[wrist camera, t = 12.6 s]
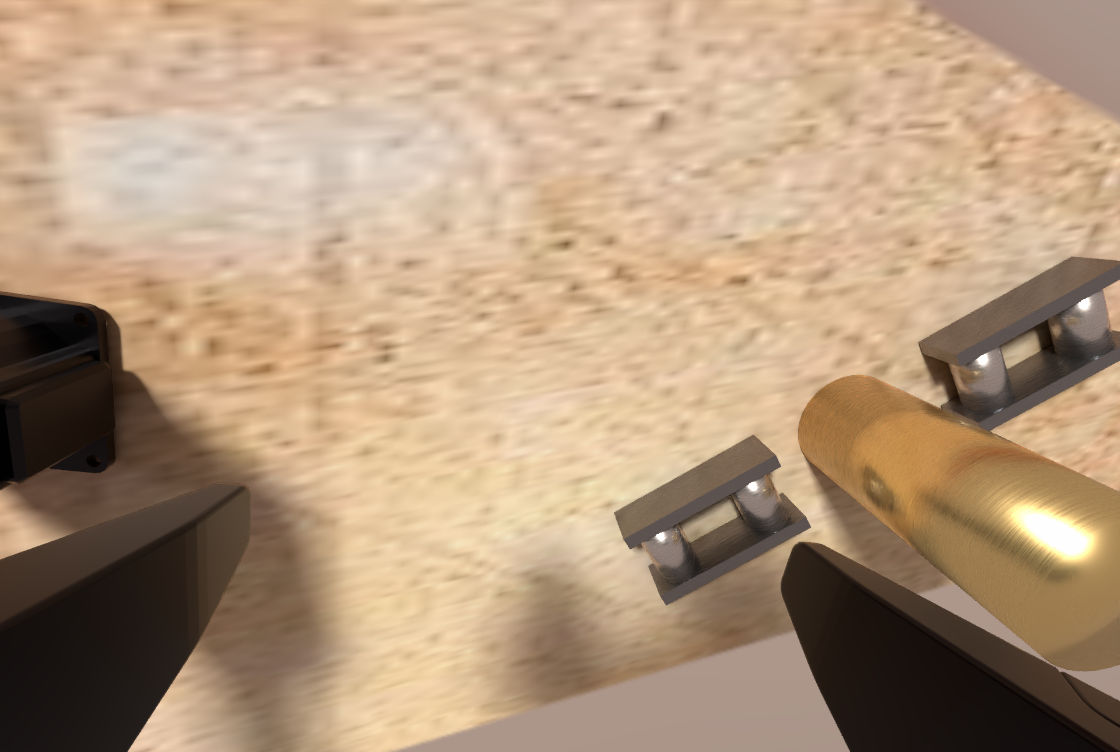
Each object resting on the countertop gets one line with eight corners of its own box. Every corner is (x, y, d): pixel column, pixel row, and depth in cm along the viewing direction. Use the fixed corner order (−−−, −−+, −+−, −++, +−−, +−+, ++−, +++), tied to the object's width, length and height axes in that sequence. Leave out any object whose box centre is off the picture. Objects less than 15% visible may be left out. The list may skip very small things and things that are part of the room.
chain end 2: (944, 416, 24) (982, 434, 22) (918, 342, 23) (956, 354, 21) (1090, 336, 23) (1142, 348, 22) (1072, 256, 22) (1125, 261, 20)
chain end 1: (654, 575, 25) (666, 605, 23) (614, 512, 24) (623, 538, 22) (787, 502, 25) (810, 527, 23) (753, 434, 23) (775, 454, 21)
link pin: (778, 449, 24) (994, 641, 13) (836, 358, 23) (1119, 488, 12) (859, 485, 25) (1118, 690, 14) (918, 400, 24) (1245, 553, 13)
